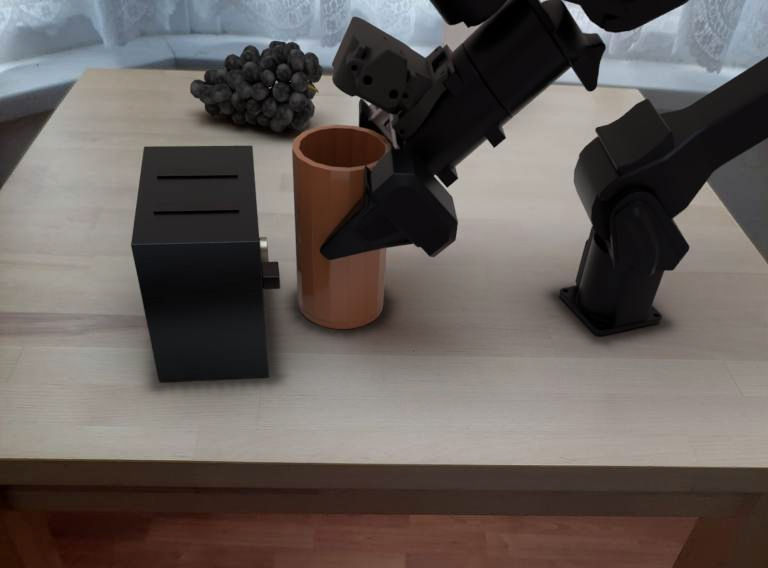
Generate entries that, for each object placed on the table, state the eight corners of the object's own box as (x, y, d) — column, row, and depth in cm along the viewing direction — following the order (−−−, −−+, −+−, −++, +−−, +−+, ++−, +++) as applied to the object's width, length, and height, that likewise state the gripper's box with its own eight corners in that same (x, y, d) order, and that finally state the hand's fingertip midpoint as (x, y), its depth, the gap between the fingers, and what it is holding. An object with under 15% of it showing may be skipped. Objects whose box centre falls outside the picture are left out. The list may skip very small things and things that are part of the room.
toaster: (275, 274, 68) (268, 143, 59) (285, 376, 59) (278, 238, 50) (166, 277, 66) (143, 143, 58) (158, 382, 57) (130, 242, 49)
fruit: (172, 28, 80) (314, 43, 78) (204, 32, 87) (334, 46, 86) (175, 122, 85) (310, 138, 83) (205, 119, 92) (330, 134, 90)
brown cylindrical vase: (365, 273, 68) (371, 120, 58) (395, 320, 64) (407, 163, 54) (287, 287, 66) (280, 130, 56) (314, 336, 62) (310, 176, 52)
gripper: (400, -65, 54) (250, 98, 61) (423, 29, 42) (232, 219, 49) (495, 64, 60) (348, 197, 68) (539, 179, 48) (354, 326, 56)
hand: (323, 229), depth 60 cm, fingers closed on brown cylindrical vase, 7 cm apart
